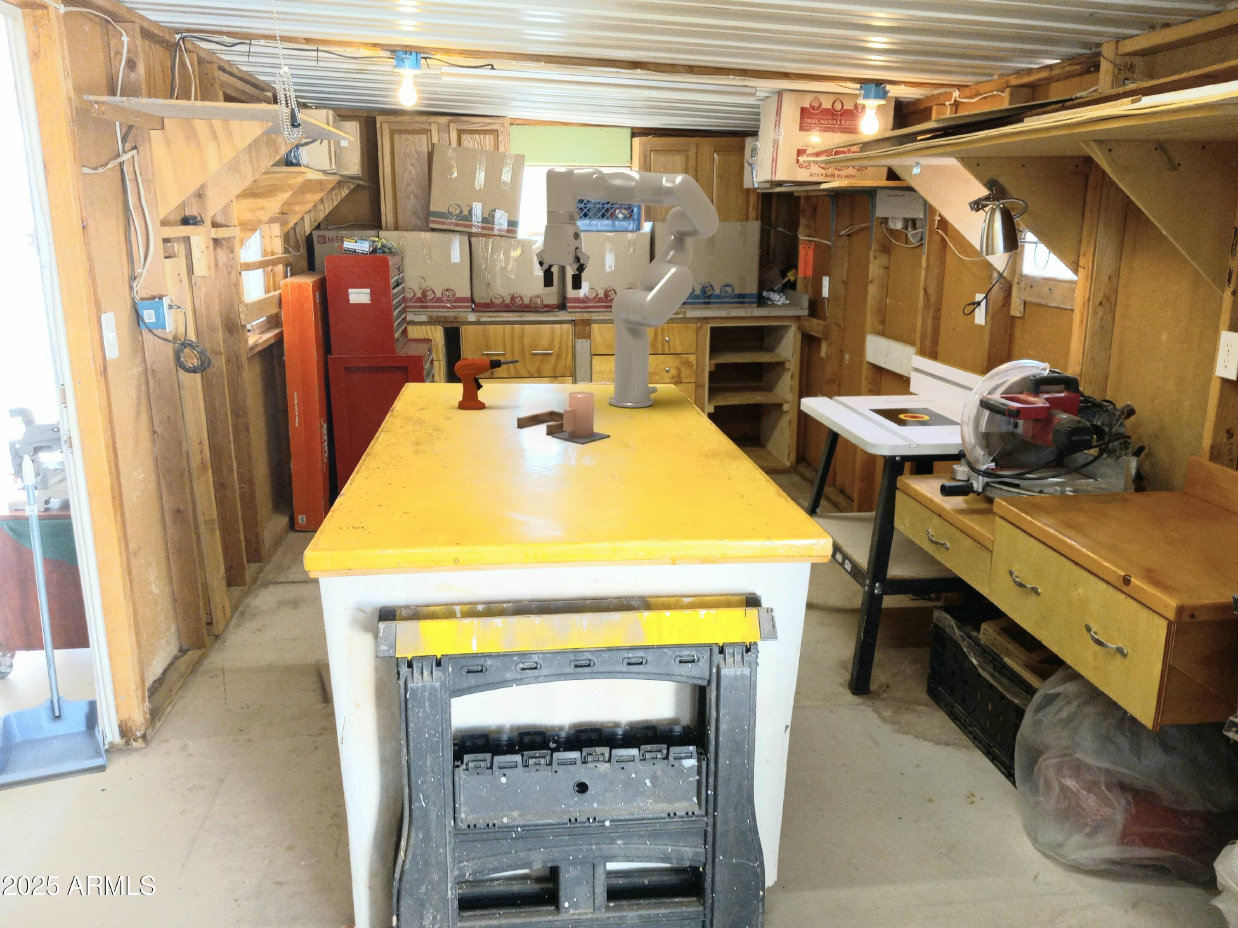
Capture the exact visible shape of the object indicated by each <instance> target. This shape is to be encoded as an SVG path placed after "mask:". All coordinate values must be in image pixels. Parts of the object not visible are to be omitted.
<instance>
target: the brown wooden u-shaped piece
mask: <svg viewBox="0 0 1238 928" xmlns="http://www.w3.org/2000/svg"><path fill="white" fill-rule="evenodd" d="M550 422H552V423H550ZM546 423H547V424H546ZM542 424H546V425H545V426H546V427H545V428H546V430H545V431H546V432H545V434H546V436H551V435H555V434H559V433H563V432H567V431H563V412H562V411H557V410H553V409H552V410H548V411H542V412H538V413H533V414H529V415H525V416H520V417H516V428H517V429H519V430H520V429H524V428H529V427H533V426H537V425H542Z"/></svg>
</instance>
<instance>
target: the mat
mask: <svg viewBox="0 0 1238 928" xmlns="http://www.w3.org/2000/svg"><path fill="white" fill-rule="evenodd" d="M550 436H551V438H555V439H557V440H561V441H562V440H563V441H566V442H571V443H574V444H579V445H585V444H589V443H592V442H596V441H601V440H604V439H609V438H610V437H611V435H610V434H606V433H600V432H598V431H594V436H593V437H590V438H573V437H570V436H569V431H566V432H562V433H558V434H554V435H550Z"/></svg>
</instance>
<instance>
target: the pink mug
mask: <svg viewBox="0 0 1238 928" xmlns="http://www.w3.org/2000/svg"><path fill="white" fill-rule="evenodd" d="M594 417H595V394H594V393H593V392H588V391H572V392H569V393H568V408H566V409H563V431H566V432H567V431H569V436H570V437H573V438H590V437H593V436H594V432H595V431H594V429H595V427H594V425H595V423H594V420H595V418H594Z"/></svg>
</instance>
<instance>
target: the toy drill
mask: <svg viewBox="0 0 1238 928" xmlns="http://www.w3.org/2000/svg"><path fill="white" fill-rule="evenodd" d="M518 363H520V360H519V359H511V360H501V359H499V358H497V359H489V358H484V357H479V358H475V357H473V358H468V357H466V356H465V357H461V358H460V360H459V361H458V362H456V364H455V365H454V369H453V370H454V373H455V374H456V376H457V377H458V378H460V379H461V384H462V395H461V399H460V400H459V401H458V403H457V408H458V409H459V410H464V411H467V410H468V411H469V410H470V411H478V410H485V409H486V403H485V402H483V401H482V400H479V395H478V394H479V391H481V390H482V389H483V387H484V384H482V383H481V382H480V380H479V379H480V378H478V376H481V375H483V374H486V373H488V372H489V371H490V372H491V371H492V370H496V369H500V368H502V366H504V365H505V366H507V365H511V364H518Z"/></svg>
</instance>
